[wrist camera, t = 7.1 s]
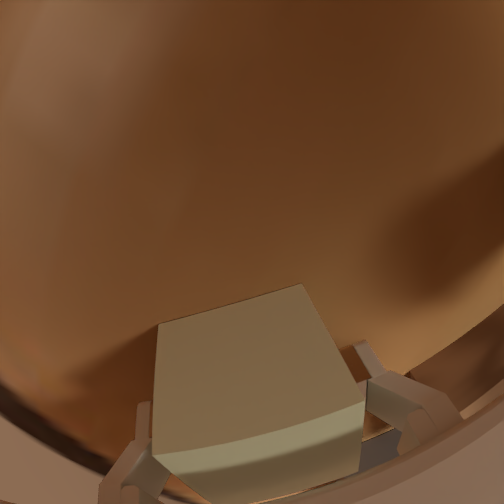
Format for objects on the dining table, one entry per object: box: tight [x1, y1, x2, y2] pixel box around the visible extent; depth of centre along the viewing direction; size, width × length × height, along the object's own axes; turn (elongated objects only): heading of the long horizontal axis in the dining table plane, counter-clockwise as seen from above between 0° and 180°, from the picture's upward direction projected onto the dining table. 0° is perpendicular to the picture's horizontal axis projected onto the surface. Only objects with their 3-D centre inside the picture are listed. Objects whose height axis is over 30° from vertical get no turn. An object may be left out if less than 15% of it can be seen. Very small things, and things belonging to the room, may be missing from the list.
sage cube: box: [152, 283, 365, 504], centre depth 10 cm, size 5×5×5 cm
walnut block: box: [410, 304, 504, 420], centre depth 14 cm, size 8×5×4 cm, turn 115°
